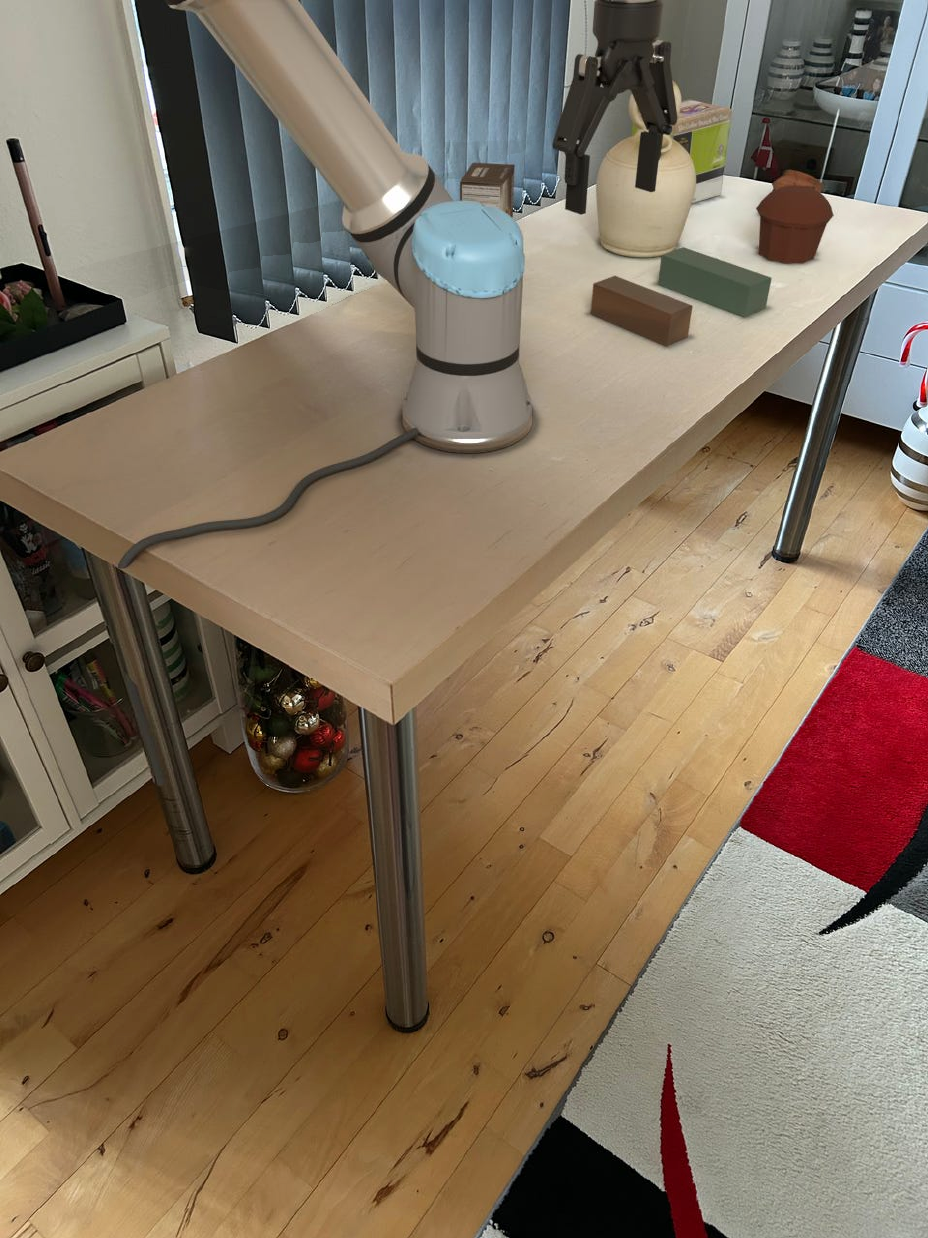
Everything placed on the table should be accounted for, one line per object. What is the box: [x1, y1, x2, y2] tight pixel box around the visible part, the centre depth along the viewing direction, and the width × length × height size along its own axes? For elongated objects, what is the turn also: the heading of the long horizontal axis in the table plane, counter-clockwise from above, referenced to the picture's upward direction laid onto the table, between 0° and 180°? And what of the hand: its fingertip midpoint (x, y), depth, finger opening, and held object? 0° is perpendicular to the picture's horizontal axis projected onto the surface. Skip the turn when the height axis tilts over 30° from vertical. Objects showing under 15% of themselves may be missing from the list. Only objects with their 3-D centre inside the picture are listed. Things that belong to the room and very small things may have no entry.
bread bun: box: [771, 169, 825, 194], centre depth 173 cm, size 12×10×8 cm
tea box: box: [631, 98, 733, 204], centre depth 178 cm, size 15×10×15 cm, turn 128°
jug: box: [595, 79, 696, 258], centre depth 156 cm, size 15×16×25 cm
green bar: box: [657, 246, 773, 318], centre depth 146 cm, size 5×16×4 cm, turn 41°
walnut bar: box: [590, 275, 694, 347], centre depth 138 cm, size 4×14×4 cm, turn 41°
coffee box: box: [459, 162, 516, 219], centre depth 146 cm, size 9×6×16 cm
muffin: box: [755, 185, 834, 265], centre depth 158 cm, size 12×11×10 cm
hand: (611, 200), depth 124 cm, fingers open, 12 cm apart
